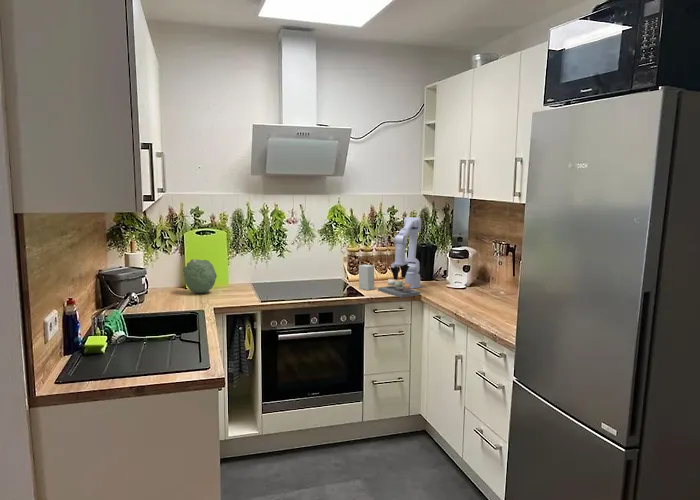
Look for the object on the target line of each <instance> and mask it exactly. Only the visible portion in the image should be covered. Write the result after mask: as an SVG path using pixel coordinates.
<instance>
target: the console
mask: <svg viewBox="0 0 700 500" xmlns="http://www.w3.org/2000/svg"><path fill="white" fill-rule="evenodd" d="M377 291H378V292H380V291H381V293H384V294H387V293H388V294H387V295H390V294H391V296H394V297H398V298H401V299H403V298H404V299H405V298H410V297H416V296H421V291H420V290H419V291H418V290H415V289H413V288H412V289H409V290H406V289H403V287H395V285H386V286H380V287H379V286H378V288H377Z"/></svg>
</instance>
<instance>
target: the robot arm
mask: <svg viewBox="0 0 700 500" xmlns="http://www.w3.org/2000/svg"><path fill="white" fill-rule="evenodd" d="M421 230H422V218H421V217H419V216H418V217H414V216H413V217H412V216H411V217H410V216H405V217H404V219H403V227H402V228H400V230H399V232H398V234H396V235H394V238H393V243H394V249H395V250H394V254H395V255H394V256H395V257H394V261H393V263H391V264H390V271H391V273H392V278H393V279H395V281H396V280H397V281H398V278H399V272H400V273H401V276H400V277H401V278H403V279H404V283H410V289H412V290H413V289H417V288H418V289H419V288H422V286H421V274H420V270H421V269H420V268H421V267H420V265H421V264H420V261H419V259H418V258H416V256H417V247H418V243H417V242H418V235H419V234H418V233H419V232H421ZM408 238H409V241H408ZM407 243H408V254H407V258H406V245H407Z"/></svg>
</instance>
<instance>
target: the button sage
mask: <svg viewBox="0 0 700 500" xmlns="http://www.w3.org/2000/svg"><path fill="white" fill-rule="evenodd" d="M403 283H404V282H403V281H401V280H397V281H396V280H395V287H403Z"/></svg>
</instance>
